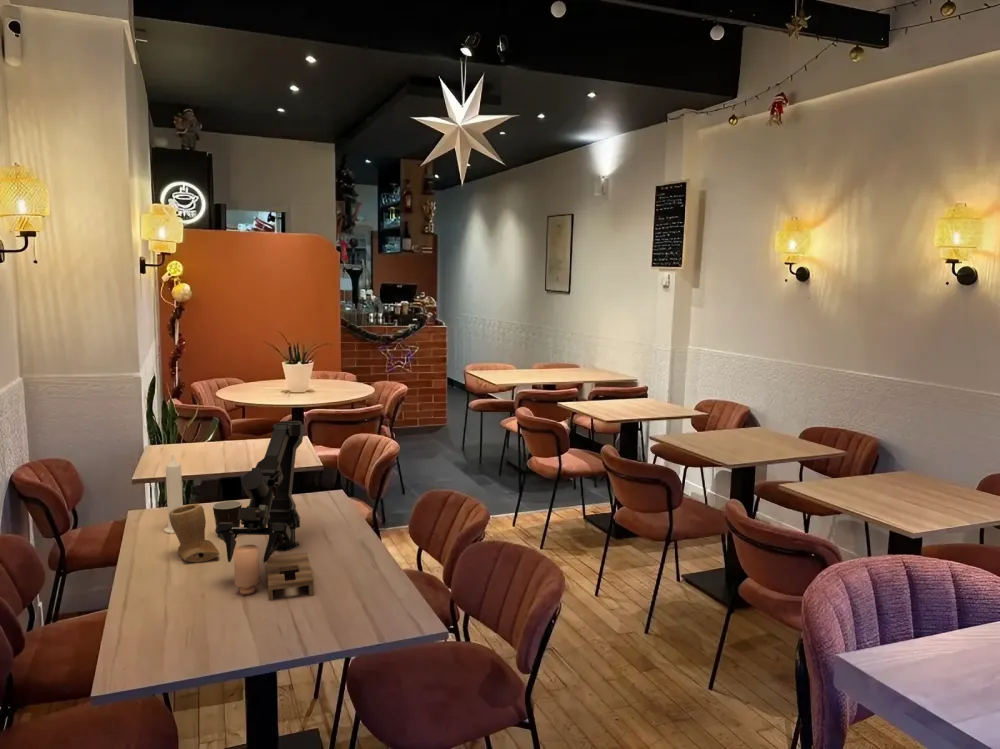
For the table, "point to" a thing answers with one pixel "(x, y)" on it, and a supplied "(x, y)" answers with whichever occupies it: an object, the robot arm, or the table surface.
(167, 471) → the candle
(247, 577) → the terracotta peg
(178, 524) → the stone cup
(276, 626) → the table surface
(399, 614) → the table surface
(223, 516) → the coffee mug
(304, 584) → the walnut keyhole board
